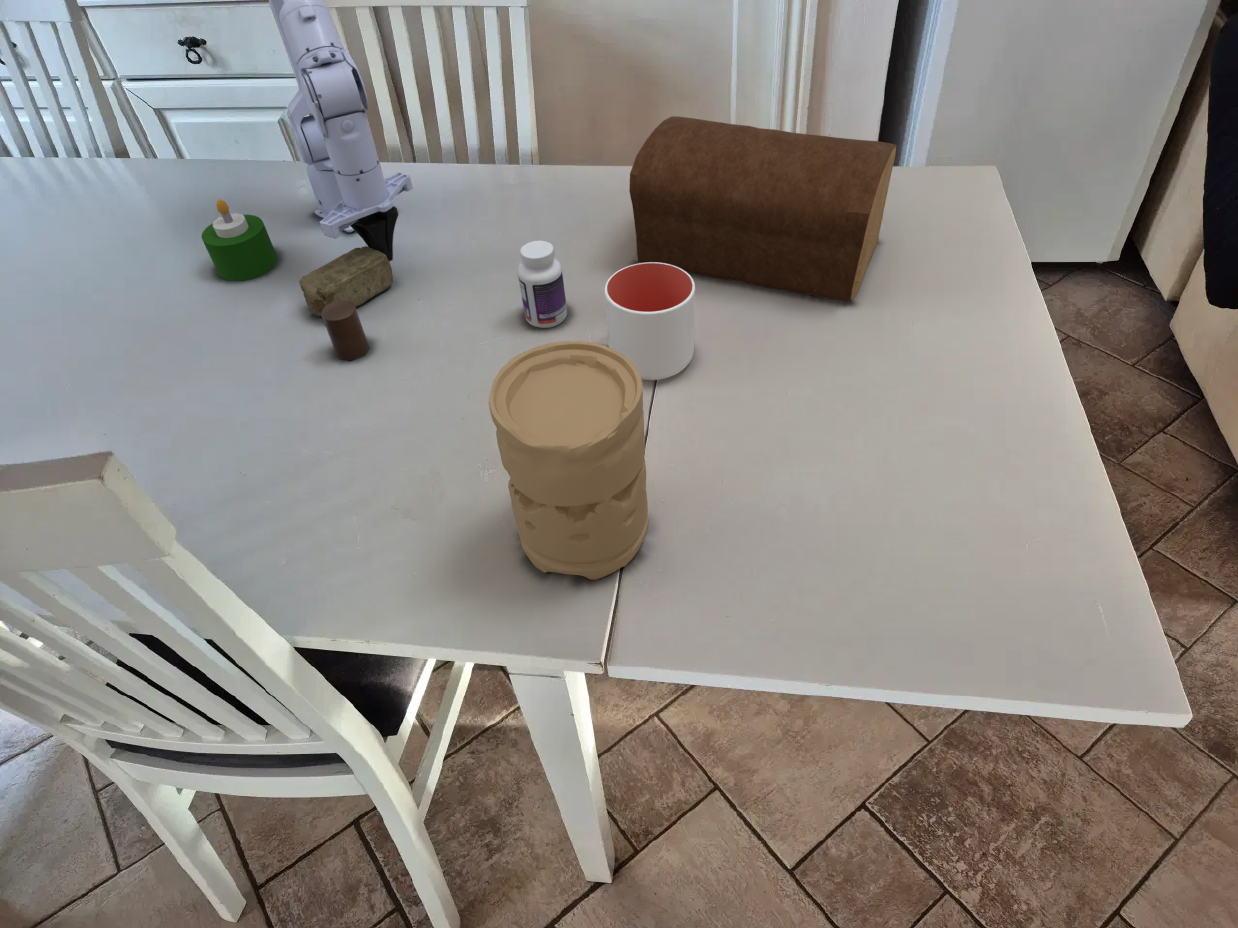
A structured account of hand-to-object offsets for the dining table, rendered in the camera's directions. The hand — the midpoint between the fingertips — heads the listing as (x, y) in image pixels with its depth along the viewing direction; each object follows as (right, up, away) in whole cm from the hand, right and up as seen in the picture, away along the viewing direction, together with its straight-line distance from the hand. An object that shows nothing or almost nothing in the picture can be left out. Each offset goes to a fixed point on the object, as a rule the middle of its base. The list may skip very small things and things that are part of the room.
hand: (384, 259), depth 111 cm
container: (+29, -34, -32) cm, 55 cm away
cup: (+36, -16, -15) cm, 42 cm away
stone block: (-3, -6, -3) cm, 7 cm away
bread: (+51, +1, 0) cm, 51 cm away
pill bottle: (+23, -9, -8) cm, 26 cm away
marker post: (-1, -14, -11) cm, 18 cm away
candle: (-21, 0, +5) cm, 21 cm away
